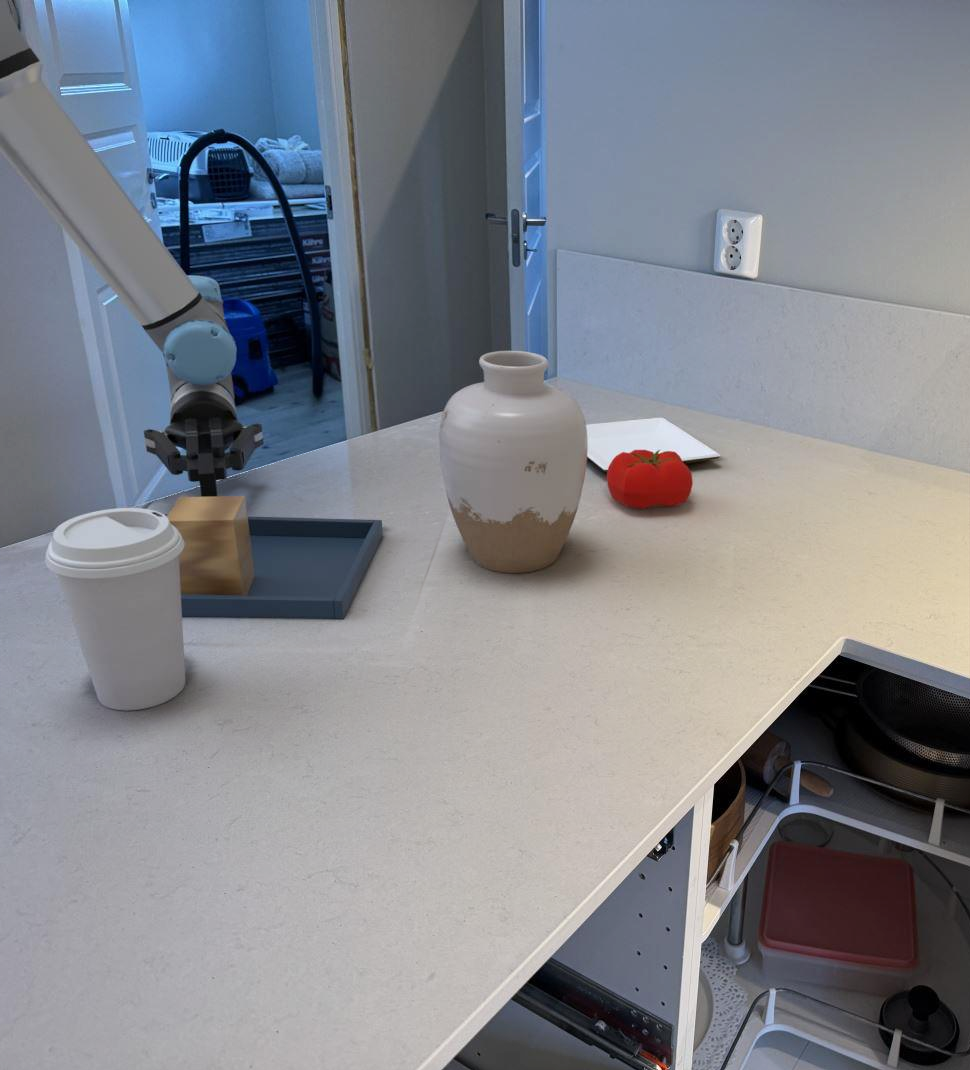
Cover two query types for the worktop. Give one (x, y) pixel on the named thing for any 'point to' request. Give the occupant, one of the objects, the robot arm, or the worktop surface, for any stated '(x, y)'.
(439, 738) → the worktop surface
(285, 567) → the tray
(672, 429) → the plate
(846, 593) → the worktop surface
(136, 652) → the coffee cup
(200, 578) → the block
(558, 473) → the vase
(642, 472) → the tomato
